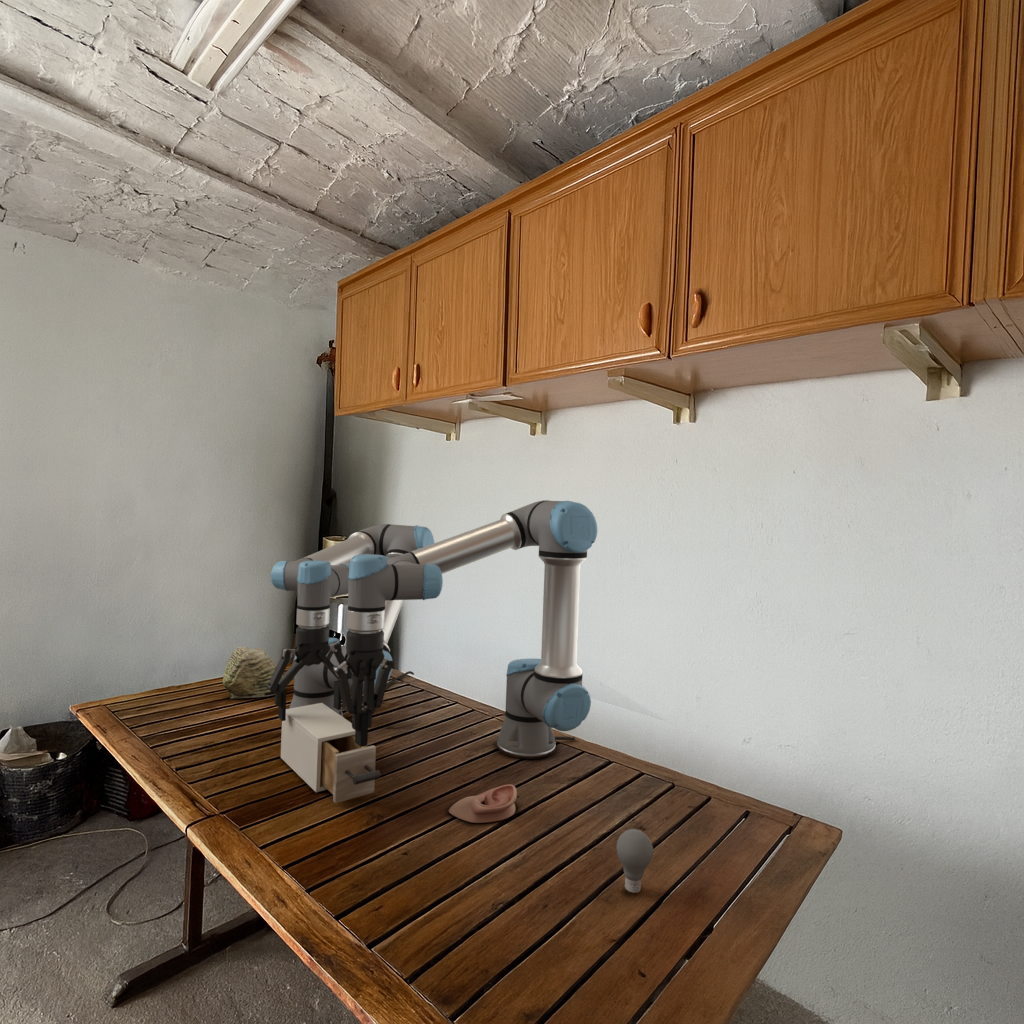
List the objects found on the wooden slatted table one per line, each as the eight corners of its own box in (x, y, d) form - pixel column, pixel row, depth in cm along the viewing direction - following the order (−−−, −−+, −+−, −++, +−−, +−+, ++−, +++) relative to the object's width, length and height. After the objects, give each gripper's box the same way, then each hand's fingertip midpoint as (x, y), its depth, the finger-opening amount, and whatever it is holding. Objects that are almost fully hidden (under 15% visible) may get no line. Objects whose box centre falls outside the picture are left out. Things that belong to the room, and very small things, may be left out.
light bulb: (610, 879, 108) (613, 822, 108) (644, 879, 109) (647, 822, 109) (619, 902, 102) (622, 840, 102) (655, 901, 103) (658, 840, 103)
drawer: (386, 802, 131) (388, 755, 130) (346, 814, 125) (348, 765, 125) (334, 759, 151) (335, 718, 151) (298, 767, 145) (299, 725, 145)
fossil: (218, 695, 195) (220, 647, 195) (278, 685, 208) (279, 640, 207) (228, 703, 189) (230, 653, 188) (289, 692, 201) (290, 645, 201)
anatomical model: (444, 799, 126) (460, 775, 138) (443, 818, 126) (460, 793, 138) (509, 808, 124) (520, 783, 135) (508, 828, 124) (519, 801, 135)
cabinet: (359, 781, 142) (361, 729, 142) (315, 792, 136) (318, 738, 135) (320, 748, 159) (322, 702, 158) (280, 757, 152) (282, 709, 152)
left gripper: (264, 634, 141) (262, 729, 141) (368, 623, 156) (365, 708, 157) (254, 628, 146) (251, 718, 147) (354, 617, 162) (352, 699, 163)
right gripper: (343, 636, 123) (338, 757, 123) (402, 630, 131) (398, 743, 132) (327, 629, 129) (323, 744, 129) (385, 623, 137) (381, 732, 138)
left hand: (310, 713), depth 152 cm, fingers open, 13 cm apart
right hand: (361, 743), depth 131 cm, fingers closed
